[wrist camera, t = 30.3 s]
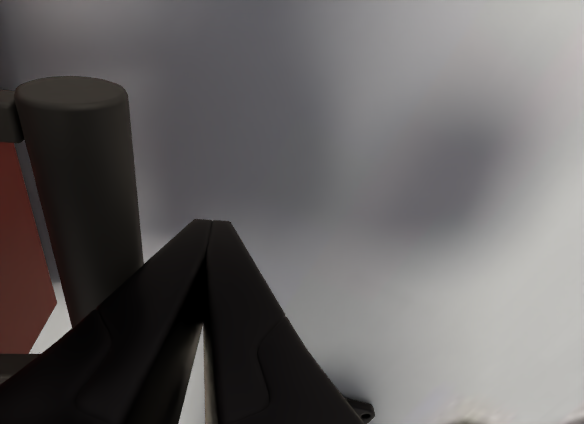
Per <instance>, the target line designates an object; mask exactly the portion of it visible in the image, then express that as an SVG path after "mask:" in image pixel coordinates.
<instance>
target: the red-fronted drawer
mask: <svg viewBox="0 0 584 424" xmlns="http://www.w3.org/2000/svg"><path fill="white" fill-rule="evenodd" d="M24 140H25V143H26V147H27V151H28V155H29V159H30V163H31V167H32V171H33V175H34V178H35V182H36V186H37V190H38V194H39V198H40V202H41V206H42V210H43V214H44V218H45V222H46V226H47V230H48V234H49V238H50V242H51V246H52V250H53V253H54V257H55V261H56V265H57V269H58V273H59V277H60V281H61V285H62V289H63V293H64V297H65V301H66V305H67V309H68V313H69V317H70V321H71V324H72V328H73V327H74V326H76V325H77V324H78V323H79V322H80V321H81V320H82V319H84V318H85V317H86V316H87V315H88V314H89V313H90V312H91V311H92V310H94V309H96V308H97V306H98V305H99V304H100V303H102V302H103V301H104V300H105V299H106V298H107V297H108V296H109V295H110V294H112V293H113V292H114V291H115V290H116V289H117V288H118V287H119V286H120V285H122V284H123V283H124V282H125V281H126V280H127V279H128V278H129V277H130V276H131V275H133V274H134V273H135V272H136V271H137V270H138V269H139V268H140V267H141V266H143V265H144V262H143V251H142V240H141V229H140V219H139V208H138V197H137V187H136V176H135V165H134V154H133V144H132V133H131V122H130V111H129V101H128V94H127V92H126V91H125V89H124V88H123V87H122V86H120V85H118V84H116V83H113V82H110V81H106V80H103V79H98V78H91V77H80V76H58V77H47V78H41V79H36V80H33V81H29V82H26V83H23V84H21V85H20V86H18V87H17V88H16V90H15V91H9V90H0V385H1V384H2V383H3V382H5V381H6V380H7V379H9V378H10V377H11V376H13V375H14V374H15V373H17V372H18V371H19V370H21V369H22V368H23V367H25V366H26V365H27V364H29V363H30V362H31V361H33V360H34V359H35V358H36V357H38V356H39V355H40V354H29V352H30V350H31V348H32V347H33V345H34V343H35V341H36V340H37V338H38V336H39V334H40V332H41V331H42V329H43V327H44V325H45V324H46V322H47V320H48V318H49V317H50V315H51V313H52V311H53V310H54V308H55V306H56V304H57V300H56V297H55V293H54V289H53V286H52V282H51V278H50V275H49V271H48V267H47V264H46V260H45V256H44V252H43V249H42V245H41V241H40V238H39V234H38V230H37V227H36V223H35V219H34V216H33V212H32V208H31V204H30V201H29V197H28V193H27V190H26V186H25V182H24V179H23V175H22V171H21V168H20V164H19V160H18V156H17V153H16V149H15V145H14V143H21V142H23V141H24ZM96 310H97V309H96Z"/></svg>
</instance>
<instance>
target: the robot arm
mask: <svg viewBox="0 0 584 424" xmlns="http://www.w3.org/2000/svg"><path fill="white" fill-rule="evenodd" d="M96 309H97V310H96ZM96 309H94V310H92V311H91V312H90V313H89V314H88V315H87V316H86V317H85V318H84V319H82V320H81V321H80V322H79V323H78V324H77V325H76V326H74V327H73V328H72V329H71V330H70V331H69V332H67V333H66V334H65V335H64V336H63V337H62V338H60V339H59V340H58V341H57V342H56V343H54V344H53V345H52V346H51V347H49V348H48V349H47V350H45V351H44V352H43V353H42V354H40V355H39V356H38V357H36V358H35V359H34V360H33V361H31V362H30V363H29V364H27V365H26V366H25V367H23V368H22V369H21V370H19V371H18V372H17V373H15V374H14V375H13V376H11V377H10V378H9V379H7V380H6V381H5V382H3V383H2V384H1V385H0V424H178V423H179V419H180V415H181V411H182V407H183V403H184V399H185V395H186V391H187V387H188V383H189V379H190V375H191V371H192V367H193V363H194V359H195V355H196V351H197V346H198V342H199V338H200V334H201V330H202V326H203V339H204V386H205V424H367V423H369V422H370V421H371V420H372V419H373V418H374V417H375V412H374V408H373V406H372V405H371V404H368V403H363V402H359V401H355V400H351V399H346V398H344V397H343V396H342V394H341V393H340V392H339V391H338V389H337V388H336V387H335V386H334V384H333V383H332V382H331V380H330V379H329V378H328V377H327V375H326V374H325V373H324V372H323V370H322V369H321V368H320V366H319V365H318V363H317V362H316V361H315V359H314V358H313V357H312V355H311V354H310V353H309V351H308V350H307V348H306V347H305V345H304V344H303V342H302V341H301V339H300V338H299V336H298V335H297V333H296V331H295V330H294V328H293V326H292V325H291V323H290V321H289V320H288V318H287V317H286V316H285V313H284V311H283V310H282V308H281V306H280V305H279V303H278V301H277V300H276V298H275V296H274V295H273V293H272V291H271V289H270V288H269V286H268V284H267V283H266V281H265V279H264V278H263V276H262V274H261V273H260V271H259V269H258V267H257V266H256V264H255V262H254V261H253V259H252V257H251V256H250V254H249V252H248V251H247V249H246V247H245V245H244V244H243V242H242V240H241V239H240V237H239V235H238V234H237V232H236V230H235V229H234V227H233V225H232V224H231V222H229V221H220V220H214V221H212V220H206V219H194V220H192V221H191V222H190V223H189V224H188V225H187V226H186V227H185V228H184V229H182V230H181V231H180V232H179V233H178V234H177V235H176V236H175V237H174V238H173V239H171V240H170V241H169V242H168V243H167V244H166V245H165V246H164V247H163V248H161V249H160V250H159V251H158V252H157V253H156V254H155V255H154V256H153V257H151V258H150V259H149V260H148V261H147V262H146V263H145V264H144V265H143V266H141V267H140V268H139V269H138V270H137V271H136V272H135V273H134V274H133V275H131V276H130V277H129V278H128V279H127V280H126V281H125V282H124V283H123V284H122V285H120V286H119V287H118V288H117V289H116V290H115V291H114V292H113V293H112V294H110V295H109V296H108V297H107V298H106V299H105V300H104V301H103V302H102V303H100V304H99V305H98V306H97V308H96Z"/></svg>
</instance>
